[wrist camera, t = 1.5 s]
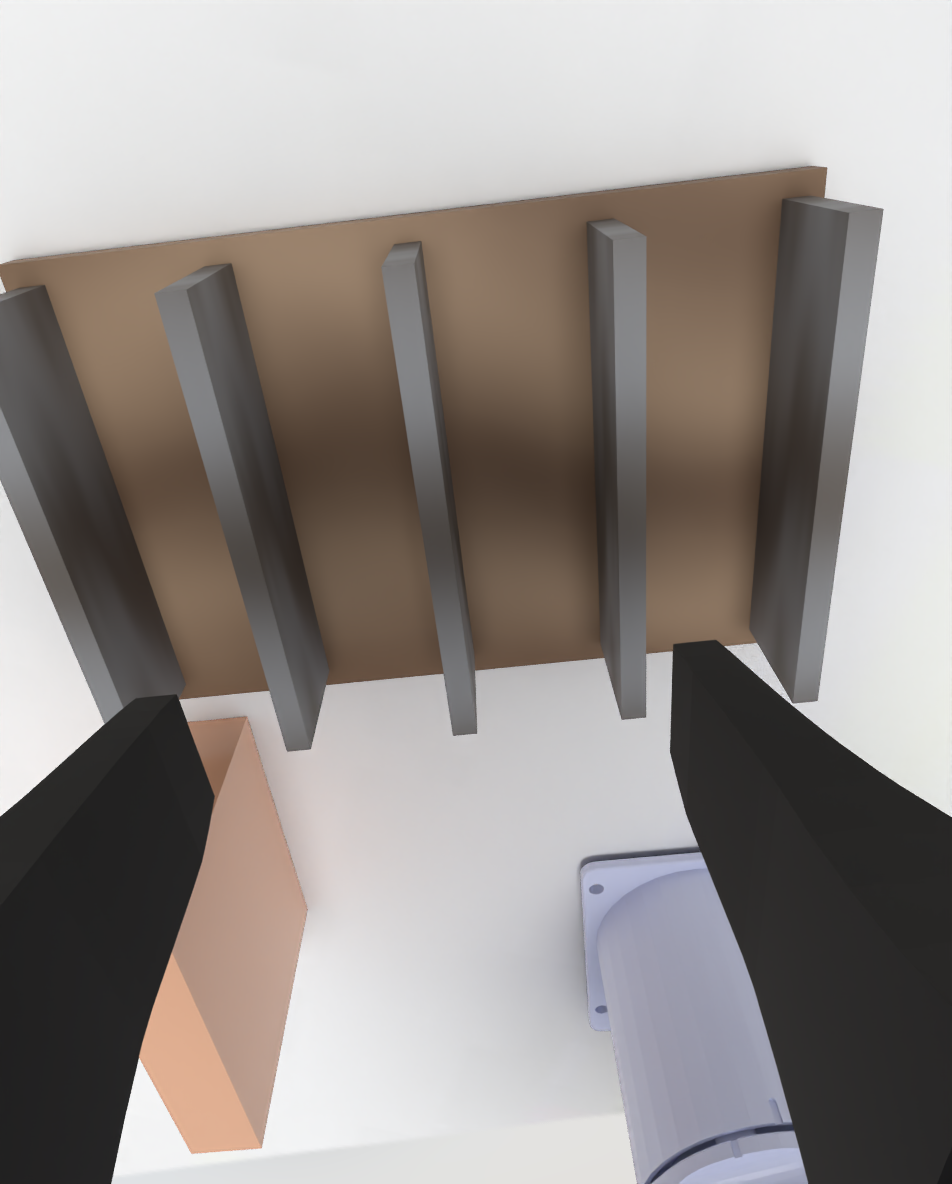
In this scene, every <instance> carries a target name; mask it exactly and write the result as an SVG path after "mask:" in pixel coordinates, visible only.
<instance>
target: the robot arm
mask: <svg viewBox="0 0 952 1184" xmlns="http://www.w3.org/2000/svg"><path fill="white" fill-rule="evenodd" d="M670 753H671V757H672V761H673V765H674V769H675V773H676V777H677V781H678V785H679V789H680V793H681V796H682V800H683V804H684V808H685V811H686V815H687V817H688V820H689V823H690V825H691V828H692V830H693V833H694V836H695V838H696V841H697V843H698V846H699V848H700V851H701V852H697V853H685V854H674V855H663V856H652V857H640V858H629V859H618V860H607V861H596V862H590V863H588V864H586V865H584V866H583V868H582V869H581V872H580V875H581V893H582V910H583V927H584V944H585V961H586V979H587V996H588V1013H589V1022H590V1026H591V1028H593V1029H594V1030H597V1031H611V1034H612V1039H613V1045H614V1051H615V1057H616V1063H617V1069H618V1075H619V1080H620V1086H621V1092H622V1098H623V1104H624V1110H625V1116H626V1121H627V1127H628V1133H629V1139H630V1144H631V1150H632V1156H633V1162H634V1168H635V1174H636V1180H637V1184H952V817H950V816H949V815H947V814H945V813H944V812H942V811H941V810H939V809H937V808H936V807H934V806H932V805H931V804H929V803H928V802H926V801H924V800H923V799H921V798H919V797H918V796H916V795H915V794H913V793H911V792H910V791H908V790H906V789H905V788H903V787H902V786H900V785H899V784H897V783H896V782H894V781H893V780H891V779H890V778H888V777H887V776H885V775H884V774H882V773H881V772H879V771H878V770H876V769H875V768H873V767H872V766H871V765H869V764H868V763H866V762H865V761H864V760H862V759H861V758H859V757H858V756H857V755H855V754H854V753H853V752H851V751H850V750H848V749H847V748H846V747H844V746H843V745H841V744H840V743H839V742H837V741H836V740H835V739H833V738H832V737H831V736H829V735H828V734H827V733H826V732H824V731H823V730H822V729H821V728H819V727H818V726H817V725H816V724H814V723H813V722H812V721H811V720H809V719H808V718H807V717H806V716H804V715H803V714H802V713H801V712H799V711H798V710H797V709H796V708H795V707H793V706H792V705H791V704H790V703H789V702H787V701H786V700H785V699H784V698H783V697H781V696H780V695H779V694H778V693H777V692H776V691H774V690H773V689H772V688H771V687H770V686H769V685H768V684H766V683H765V682H764V681H763V680H762V679H761V678H759V677H758V676H757V675H756V674H755V673H754V672H753V671H752V670H750V669H749V668H748V667H747V666H746V665H745V664H744V663H742V662H741V661H740V660H739V659H738V658H737V657H736V656H735V655H733V654H732V653H731V652H730V651H729V650H728V649H727V648H725V647H724V646H723V645H722V644H721V643H720V642H718V641H717V640H707V641H697V642H687V643H677V644H673V668H672V704H671V740H670ZM214 799H215V795H214V793H213V790H212V787H211V785H210V782H209V779H208V777H207V774H206V771H205V768H204V766H203V763H202V760H201V758H200V755H199V752H198V750H197V747H196V744H195V742H194V739H193V736H192V734H191V731H190V728H189V726H188V723H187V720H186V718H185V715H184V712H183V710H182V707H181V704H180V701H179V699H178V696H177V694H172V695H162V696H153V697H143V698H135V699H134V700H133V701H132V702H130V703H129V704H128V705H127V706H125V707H124V708H123V709H122V710H120V711H119V712H118V713H117V714H116V715H115V716H114V717H112V718H111V719H110V720H109V721H108V722H107V723H106V724H104V725H103V726H102V727H101V728H100V729H99V730H98V731H97V732H96V733H94V734H93V735H92V736H91V737H90V738H89V739H88V740H87V741H86V742H84V743H83V744H82V745H81V746H80V747H79V748H78V749H77V750H76V751H75V752H74V753H72V754H71V755H70V756H69V757H68V758H67V759H66V760H65V761H64V762H62V763H61V764H60V765H59V766H58V767H57V768H56V769H55V770H53V771H52V772H51V773H50V774H49V775H48V776H47V777H46V778H45V779H43V780H42V781H41V782H40V783H39V784H38V785H37V786H36V787H34V788H33V789H32V790H31V791H30V792H29V793H28V794H27V795H25V796H24V797H23V798H22V799H21V800H20V801H18V802H17V803H16V804H15V805H14V806H12V807H11V808H10V809H9V810H8V811H6V812H5V813H4V814H3V815H2V816H0V1184H111V1182H112V1177H113V1172H114V1167H115V1163H116V1158H117V1153H118V1148H119V1143H120V1139H121V1134H122V1129H123V1124H124V1119H125V1115H126V1111H127V1106H128V1102H129V1098H130V1094H131V1089H132V1085H133V1081H134V1076H135V1072H136V1068H137V1064H138V1059H139V1055H140V1051H141V1047H142V1043H143V1039H144V1036H145V1032H146V1029H147V1026H148V1022H149V1019H150V1016H151V1012H152V1009H153V1006H154V1003H155V1000H156V997H157V994H158V991H159V988H160V985H161V983H162V980H163V977H164V974H165V971H166V968H167V965H168V962H169V959H170V956H171V953H172V950H173V948H174V945H175V942H176V939H177V936H178V933H179V930H180V927H181V924H182V921H183V918H184V916H185V913H186V910H187V907H188V904H189V901H190V898H191V895H192V892H193V889H194V886H195V883H196V880H197V877H198V873H199V870H200V867H201V864H202V861H203V856H204V852H205V847H206V842H207V837H208V832H209V827H210V821H211V816H212V810H213V804H214ZM595 884H598V885H595Z"/></svg>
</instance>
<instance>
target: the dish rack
mask: <svg viewBox="0 0 952 1184" xmlns="http://www.w3.org/2000/svg"><path fill="white" fill-rule="evenodd" d="M826 175H827V168H826V167H817V166H810V167H801V168H793V169H784V170H776V171H767V172H759V173H750V174H742V175H733V176H725V177H716V178H708V179H699V180H691V181H682V182H674V183H665V184H657V185H648V186H640V187H631V188H623V189H614V190H606V191H598V192H589V193H581V194H572V195H564V196H555V197H547V198H538V199H530V200H521V201H513V202H504V203H496V204H487V205H479V206H470V207H462V208H453V209H445V210H436V211H428V212H419V213H411V214H402V215H394V216H386V217H377V218H369V219H360V220H352V221H343V222H335V223H326V224H318V225H309V226H301V227H292V228H284V229H275V230H267V231H258V232H250V233H241V234H233V235H224V236H216V237H207V238H199V239H190V240H182V241H174V242H165V243H157V244H148V245H140V246H131V247H123V248H114V249H106V250H97V251H89V252H80V253H72V254H63V255H55V256H46V257H38V258H29V259H21V260H13V261H10V262H6V263H3V264H0V277H1V279H2V282H3V285H4V287H5V290H6V293H3V294H0V480H1V483H2V485H3V487H4V490H5V492H6V494H7V497H8V499H9V501H10V504H11V506H12V508H13V511H14V513H15V515H16V518H17V520H18V522H19V525H20V527H21V529H22V532H23V534H24V536H25V539H26V541H27V543H28V546H29V548H30V550H31V553H32V555H33V557H34V560H35V562H36V564H37V567H38V569H39V571H40V574H41V576H42V578H43V581H44V583H45V585H46V588H47V590H48V592H49V595H50V597H51V599H52V602H53V604H54V606H55V609H56V611H57V613H58V616H59V618H60V620H61V623H62V625H63V627H64V630H65V632H66V634H67V637H68V639H69V641H70V644H71V646H72V648H73V651H74V653H75V655H76V658H77V660H78V662H79V665H80V667H81V669H82V672H83V674H84V676H85V679H86V681H87V683H88V686H89V688H90V690H91V693H92V695H93V697H94V700H95V702H96V704H97V707H98V709H99V711H100V714H101V716H102V718H103V721H104V723H105V724H106V723H107V722H108V721H109V720H110V719H111V718H112V717H114V716H115V715H116V714H117V713H118V712H119V711H120V710H122V709H123V708H124V707H125V706H127V705H128V704H129V703H130V702H132V701H133V700H134V699H135V698H143V697H153V696H162V695H172V694H177V696H178V699H188V698H198V697H208V696H219V695H229V694H239V693H249V692H260V691H270V694H271V698H272V701H273V705H274V708H275V712H276V715H277V718H278V722H279V725H280V729H281V732H282V736H283V739H284V743H285V746H286V750H287V751H298V750H308V749H311V746H312V742H313V737H314V733H315V729H316V725H317V720H318V716H319V712H320V708H321V704H322V699H323V695H324V691H325V687H326V685H331V684H341V683H352V682H362V681H372V680H382V679H392V678H403V677H413V676H423V675H433V674H444V679H445V686H446V692H447V699H448V705H449V712H450V718H451V725H452V731H453V736H456V735H466V734H477V714H476V684H475V670H484V669H495V668H505V667H515V666H525V665H536V664H546V663H556V662H566V661H576V660H587V659H597V658H605V662H606V665H607V669H608V672H609V676H610V679H611V683H612V687H613V690H614V694H615V697H616V701H617V705H618V708H619V712H620V715H621V719H622V720H624V719H634V718H645V717H646V654H648V653H658V652H668V651H673V644H677V643H687V642H697V641H707V640H717V641H718V642H720V643H721V644H722V645H723V646H730V645H740V644H750V643H758V645H759V647H760V648H761V650H762V652H763V653H764V655H765V657H766V659H767V660H768V662H769V664H770V665H771V667H772V669H773V671H774V672H775V674H776V676H777V677H778V679H779V681H780V683H781V684H782V686H783V688H784V689H785V691H786V693H787V694H788V696H789V698H790V700H791V701H792V703H803V702H813V701H817V700H818V693H819V685H820V678H821V671H822V663H823V656H824V648H825V641H826V633H827V626H828V618H829V611H830V604H831V596H832V589H833V581H834V574H835V566H836V559H837V551H838V544H839V537H840V529H841V522H842V514H843V507H844V499H845V492H846V484H847V477H848V470H849V462H850V455H851V447H852V440H853V432H854V425H855V417H856V410H857V403H858V395H859V388H860V380H861V373H862V365H863V358H864V351H865V343H866V336H867V328H868V321H869V313H870V306H871V298H872V291H873V284H874V276H875V269H876V261H877V254H878V246H879V239H880V231H881V224H882V217H883V209H881V208H876V207H870V206H865V205H859V204H854V203H849V202H843V201H838V200H832V199H827V198H824V195H825V185H826Z"/></svg>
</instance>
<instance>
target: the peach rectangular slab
mask: <svg viewBox="0 0 952 1184" xmlns="http://www.w3.org/2000/svg"><path fill="white" fill-rule="evenodd" d="M187 723H188V726H189V728H190V731H191V734H192V736H193V739H194V742H195V744H196V747H197V750H198V752H199V755H200V758H201V760H202V763H203V766H204V768H205V771H206V774H207V777H208V779H209V782H210V785H211V787H212V790H213V793H214V795H215V799H214V804H213V810H212V816H211V821H210V827H209V832H208V837H207V842H206V847H205V852H204V856H203V861H202V864H201V867H200V870H199V873H198V877H197V880H196V883H195V886H194V889H193V892H192V895H191V898H190V901H189V904H188V907H187V910H186V913H185V916H184V918H183V921H182V924H181V927H180V930H179V933H178V936H177V939H176V942H175V945H174V948H173V950H172V953H171V956H170V959H169V962H168V965H167V968H166V971H165V974H164V977H163V980H162V983H161V985H160V988H159V991H158V994H157V997H156V1000H155V1003H154V1006H153V1009H152V1012H151V1016H150V1019H149V1022H148V1026H147V1029H146V1032H145V1036H144V1039H143V1043H142V1047H141V1051H140V1055H139V1058H140V1060H141V1062H142V1064H143V1066H144V1067H145V1069H146V1071H147V1073H148V1075H149V1077H150V1078H151V1080H152V1082H153V1084H154V1086H155V1088H156V1089H157V1091H158V1093H159V1095H160V1097H161V1099H162V1100H163V1102H164V1104H165V1106H166V1108H167V1110H168V1111H169V1113H170V1115H171V1117H172V1119H173V1121H174V1122H175V1124H176V1126H177V1128H178V1130H179V1132H180V1133H181V1135H182V1137H183V1139H184V1141H185V1143H186V1144H187V1146H188V1148H189V1150H190V1152H191V1154H194V1153H207V1152H220V1151H232V1150H245V1149H258V1148H262V1144H263V1139H264V1133H265V1128H266V1123H267V1118H268V1113H269V1107H270V1102H271V1097H272V1092H273V1087H274V1081H275V1076H276V1071H277V1066H278V1061H279V1055H280V1050H281V1045H282V1040H283V1034H284V1029H285V1024H286V1019H287V1014H288V1008H289V1003H290V998H291V993H292V988H293V982H294V977H295V972H296V967H297V962H298V956H299V951H300V946H301V941H302V936H303V930H304V925H305V920H306V915H307V910H308V909H307V906H306V903H305V900H304V896H303V893H302V890H301V887H300V884H299V881H298V877H297V874H296V871H295V868H294V865H293V861H292V858H291V855H290V852H289V849H288V845H287V842H286V839H285V836H284V833H283V830H282V826H281V823H280V820H279V817H278V814H277V810H276V807H275V804H274V801H273V798H272V794H271V791H270V788H269V785H268V782H267V779H266V775H265V772H264V769H263V766H262V763H261V759H260V756H259V753H258V750H257V747H256V743H255V740H254V737H253V734H252V731H251V728H250V724H249V721H248V718H247V717H237V718H226V719H216V720H206V721H195V722H187Z"/></svg>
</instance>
